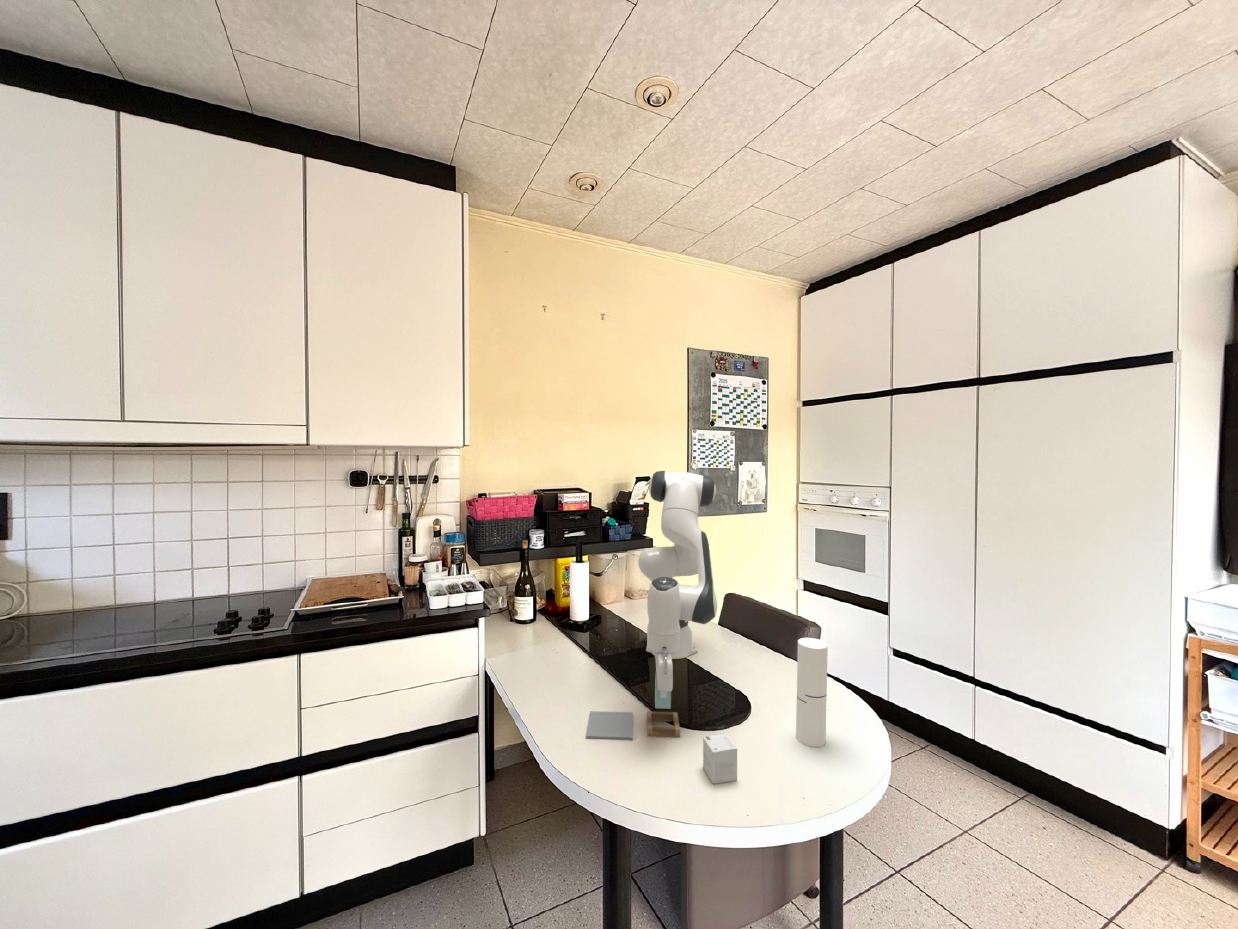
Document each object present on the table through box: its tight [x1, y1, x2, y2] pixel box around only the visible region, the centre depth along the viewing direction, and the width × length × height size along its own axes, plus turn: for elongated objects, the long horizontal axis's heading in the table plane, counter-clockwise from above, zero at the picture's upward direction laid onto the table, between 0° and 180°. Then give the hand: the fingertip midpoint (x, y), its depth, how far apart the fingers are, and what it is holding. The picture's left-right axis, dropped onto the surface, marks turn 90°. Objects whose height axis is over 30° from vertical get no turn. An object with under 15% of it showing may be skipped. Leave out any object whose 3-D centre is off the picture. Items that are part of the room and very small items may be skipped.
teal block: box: [654, 670, 672, 710], centre depth 130 cm, size 4×4×8 cm
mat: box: [585, 710, 634, 741], centre depth 130 cm, size 12×12×1 cm
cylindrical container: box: [795, 637, 829, 748], centre depth 125 cm, size 7×7×25 cm
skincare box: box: [702, 733, 738, 785], centre depth 111 cm, size 6×6×7 cm
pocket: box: [646, 711, 681, 738], centre depth 130 cm, size 8×8×2 cm
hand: (662, 691), depth 130 cm, fingers closed on teal block, 4 cm apart
